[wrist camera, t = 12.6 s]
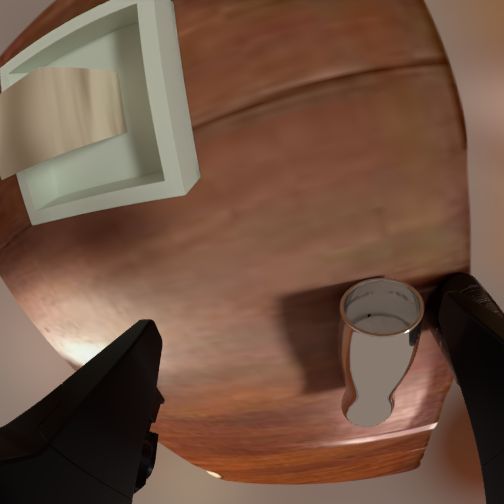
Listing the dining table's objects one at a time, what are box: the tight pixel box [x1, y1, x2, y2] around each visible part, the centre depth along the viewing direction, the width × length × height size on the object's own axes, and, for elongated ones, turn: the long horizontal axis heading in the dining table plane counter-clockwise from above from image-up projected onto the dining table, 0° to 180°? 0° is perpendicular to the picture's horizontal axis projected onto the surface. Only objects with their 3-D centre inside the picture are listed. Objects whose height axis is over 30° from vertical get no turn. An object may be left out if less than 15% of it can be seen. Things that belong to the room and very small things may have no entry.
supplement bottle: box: [425, 274, 504, 386], centre depth 18 cm, size 7×7×12 cm
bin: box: [0, 0, 200, 226], centre depth 15 cm, size 13×13×4 cm
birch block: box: [0, 67, 128, 180], centre depth 13 cm, size 4×4×8 cm
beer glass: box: [338, 278, 424, 427], centre depth 23 cm, size 7×7×15 cm
